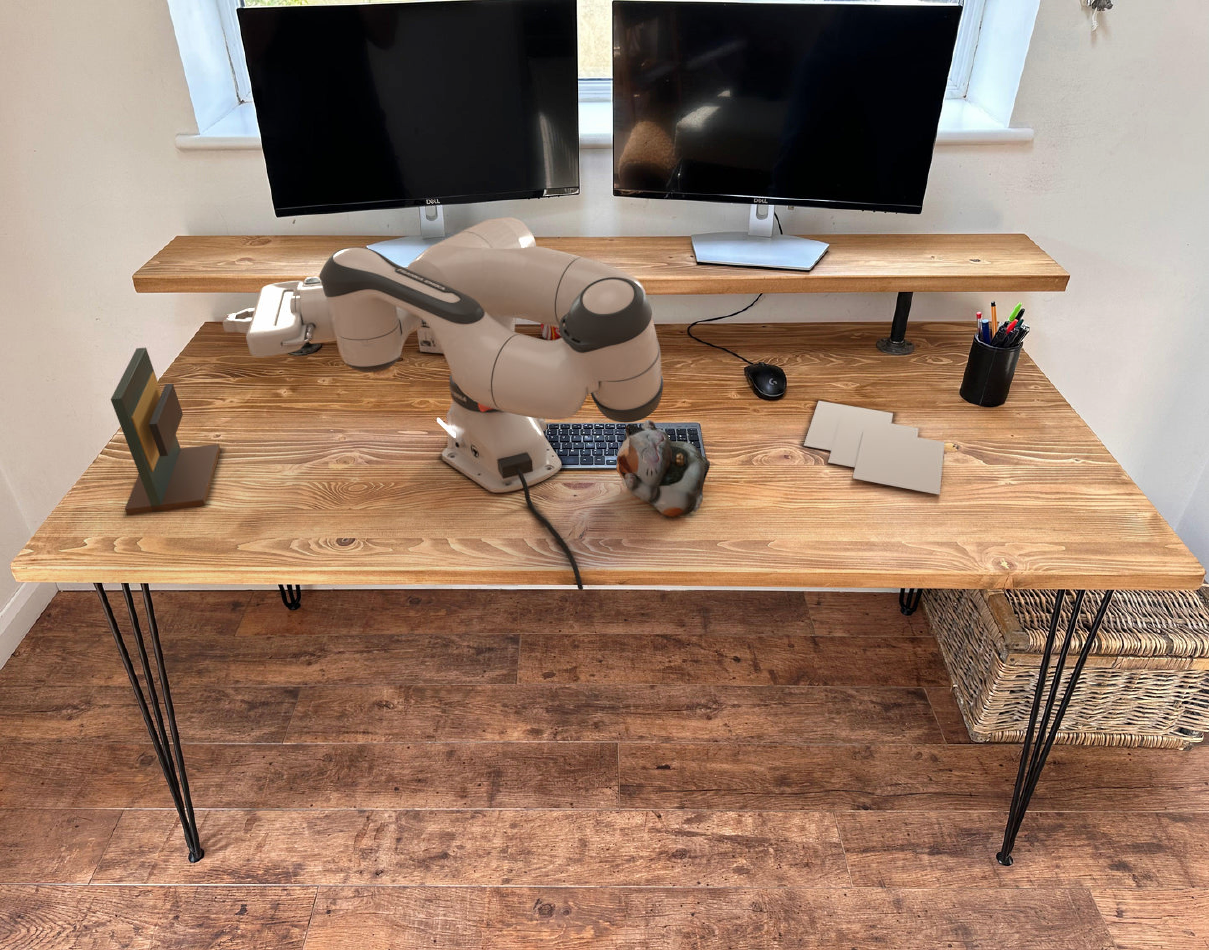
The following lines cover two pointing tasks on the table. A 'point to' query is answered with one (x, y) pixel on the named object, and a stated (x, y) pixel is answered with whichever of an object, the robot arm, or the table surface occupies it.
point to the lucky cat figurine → (662, 470)
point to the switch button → (166, 420)
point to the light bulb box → (428, 340)
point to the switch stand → (160, 477)
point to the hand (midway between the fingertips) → (224, 323)
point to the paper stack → (877, 447)
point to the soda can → (550, 332)
